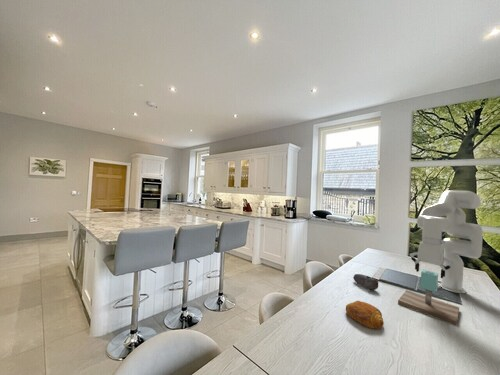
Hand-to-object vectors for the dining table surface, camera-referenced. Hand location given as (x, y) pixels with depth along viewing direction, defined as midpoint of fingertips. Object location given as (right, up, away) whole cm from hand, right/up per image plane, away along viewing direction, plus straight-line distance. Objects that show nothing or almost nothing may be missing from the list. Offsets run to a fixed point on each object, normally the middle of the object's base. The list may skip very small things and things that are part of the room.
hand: (429, 274), depth 109 cm
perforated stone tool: (-22, -17, +21) cm, 35 cm away
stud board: (0, -17, 0) cm, 17 cm away
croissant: (-40, -16, -13) cm, 45 cm away
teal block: (0, -7, 0) cm, 7 cm away
